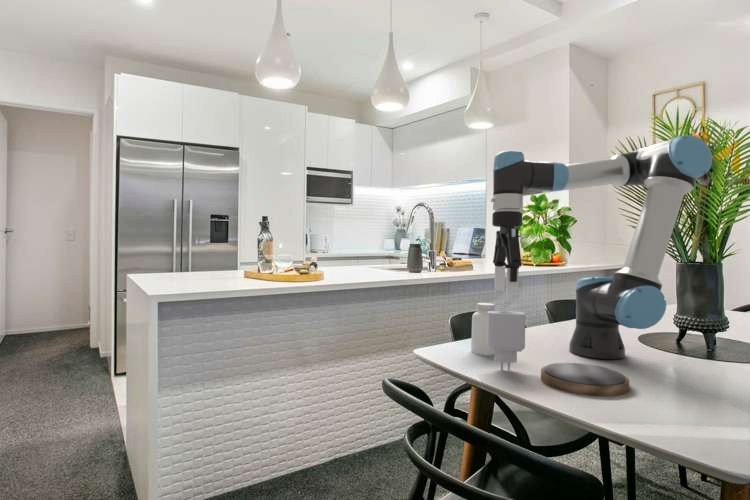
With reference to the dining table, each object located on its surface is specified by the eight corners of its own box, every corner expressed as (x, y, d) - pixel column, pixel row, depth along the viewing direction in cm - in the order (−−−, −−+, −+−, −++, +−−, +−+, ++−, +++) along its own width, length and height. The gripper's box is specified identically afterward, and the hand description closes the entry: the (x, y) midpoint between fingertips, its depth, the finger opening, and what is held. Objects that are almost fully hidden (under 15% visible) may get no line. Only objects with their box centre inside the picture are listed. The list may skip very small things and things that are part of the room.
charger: (525, 373, 114) (525, 314, 113) (487, 370, 115) (488, 313, 115) (522, 368, 118) (523, 311, 118) (486, 366, 120) (487, 310, 120)
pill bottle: (499, 357, 130) (500, 305, 130) (471, 355, 132) (472, 304, 132) (497, 351, 138) (498, 302, 138) (471, 349, 139) (471, 301, 139)
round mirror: (605, 372, 115) (605, 363, 115) (646, 397, 96) (646, 385, 96) (531, 370, 116) (531, 361, 116) (556, 394, 97) (557, 383, 97)
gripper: (483, 214, 129) (482, 287, 129) (504, 206, 104) (501, 297, 104) (510, 215, 129) (508, 288, 129) (536, 207, 104) (534, 298, 104)
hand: (505, 292), depth 117 cm, fingers open, 13 cm apart
